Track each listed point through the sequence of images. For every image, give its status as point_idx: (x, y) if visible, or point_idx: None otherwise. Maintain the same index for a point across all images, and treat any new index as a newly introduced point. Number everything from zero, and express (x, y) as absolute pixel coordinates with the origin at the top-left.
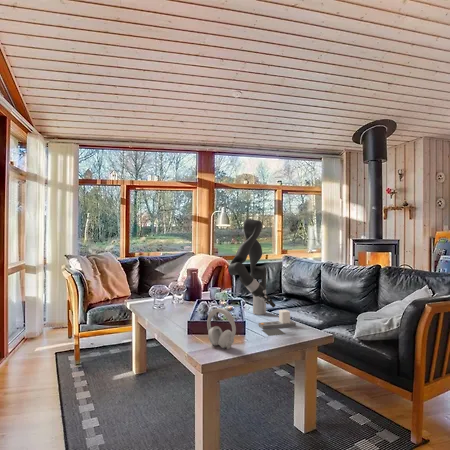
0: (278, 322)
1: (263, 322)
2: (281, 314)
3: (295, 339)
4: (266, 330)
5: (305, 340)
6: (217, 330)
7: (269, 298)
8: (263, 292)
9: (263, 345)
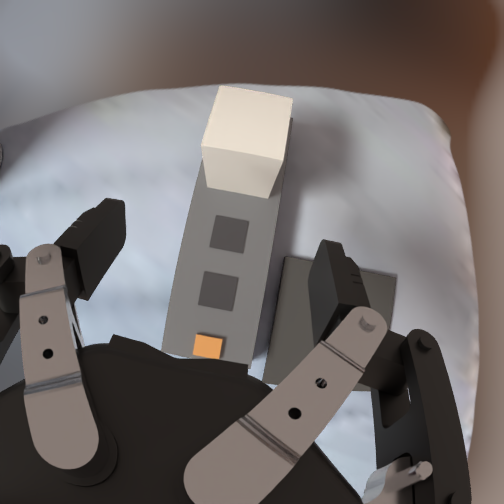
0: (226, 206)
1: (171, 311)
2: (254, 167)
3: (451, 276)
4: (284, 355)
5: (469, 242)
6: None
7: (447, 411)
8: (92, 456)
9: None
